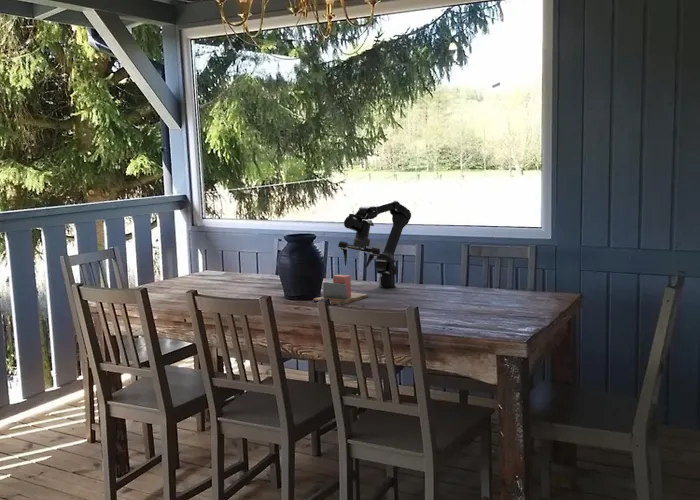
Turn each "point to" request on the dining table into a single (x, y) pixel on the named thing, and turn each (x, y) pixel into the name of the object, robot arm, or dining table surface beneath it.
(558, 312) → the dining table surface
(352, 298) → the shelf board
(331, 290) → the bookend
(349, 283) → the salmon pink block
